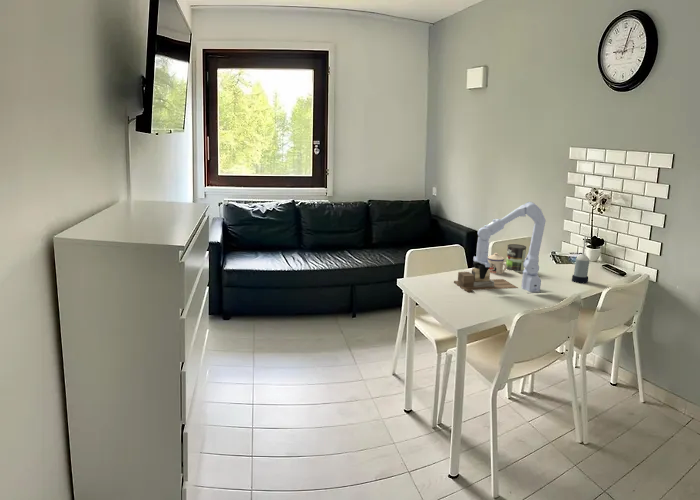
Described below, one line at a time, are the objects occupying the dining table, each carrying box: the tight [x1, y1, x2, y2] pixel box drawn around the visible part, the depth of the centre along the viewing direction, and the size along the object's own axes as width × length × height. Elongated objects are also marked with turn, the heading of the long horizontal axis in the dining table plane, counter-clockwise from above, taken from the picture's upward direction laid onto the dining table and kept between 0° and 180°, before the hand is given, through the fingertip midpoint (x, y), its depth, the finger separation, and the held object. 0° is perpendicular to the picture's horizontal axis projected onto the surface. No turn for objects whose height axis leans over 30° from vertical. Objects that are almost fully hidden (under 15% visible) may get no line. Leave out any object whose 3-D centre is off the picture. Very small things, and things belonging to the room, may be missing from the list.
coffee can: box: [505, 243, 527, 273], centre depth 310 cm, size 10×10×14 cm
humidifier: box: [571, 235, 590, 285], centre depth 289 cm, size 8×8×25 cm
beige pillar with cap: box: [471, 267, 491, 282], centre depth 276 cm, size 4×8×7 cm, turn 103°
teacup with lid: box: [488, 252, 507, 275], centre depth 300 cm, size 12×9×12 cm
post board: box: [453, 271, 519, 293], centre depth 277 cm, size 16×28×7 cm, turn 103°
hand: (480, 277), depth 276 cm, fingers closed on beige pillar with cap, 4 cm apart
